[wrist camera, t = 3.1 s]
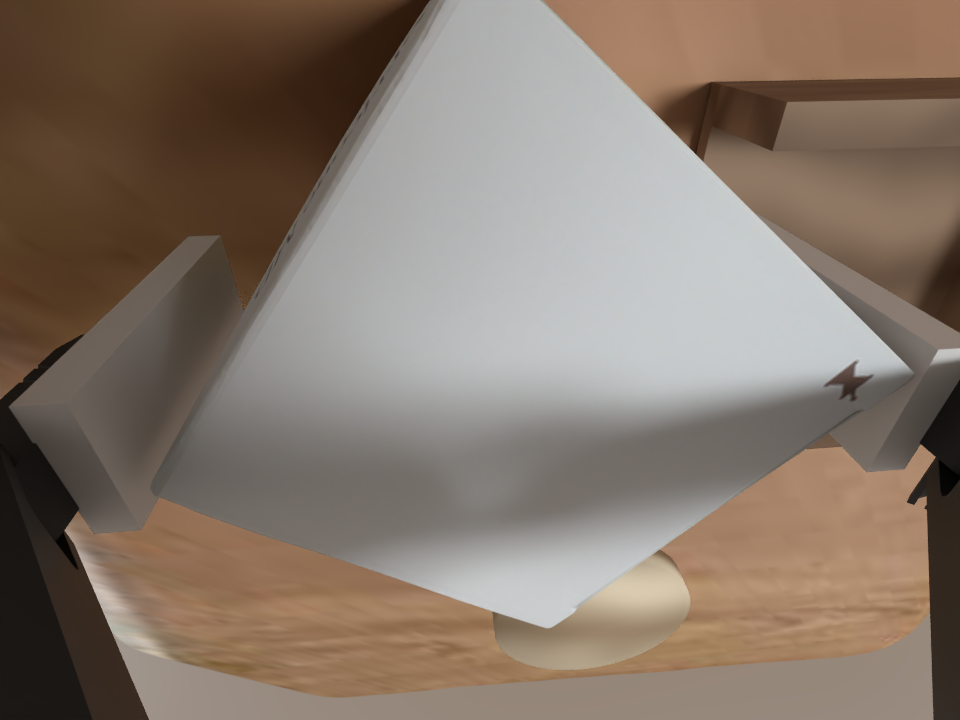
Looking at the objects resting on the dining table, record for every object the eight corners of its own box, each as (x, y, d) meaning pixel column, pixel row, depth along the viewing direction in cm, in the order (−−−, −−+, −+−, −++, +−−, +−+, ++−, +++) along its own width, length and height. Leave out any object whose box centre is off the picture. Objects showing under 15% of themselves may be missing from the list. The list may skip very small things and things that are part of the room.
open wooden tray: (711, 81, 21) (787, 101, 16) (1084, 75, 22) (1248, 92, 18) (642, 392, 30) (679, 457, 26) (908, 376, 31) (987, 436, 27)
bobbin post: (471, 374, 28) (495, 572, 18) (614, 366, 29) (712, 554, 19) (473, 475, 33) (493, 677, 23) (596, 466, 33) (668, 660, 23)
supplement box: (443, -29, 18) (496, -145, 4) (621, 137, 22) (960, 365, 8) (314, 193, 22) (124, 509, 8) (484, 301, 26) (551, 646, 12)
